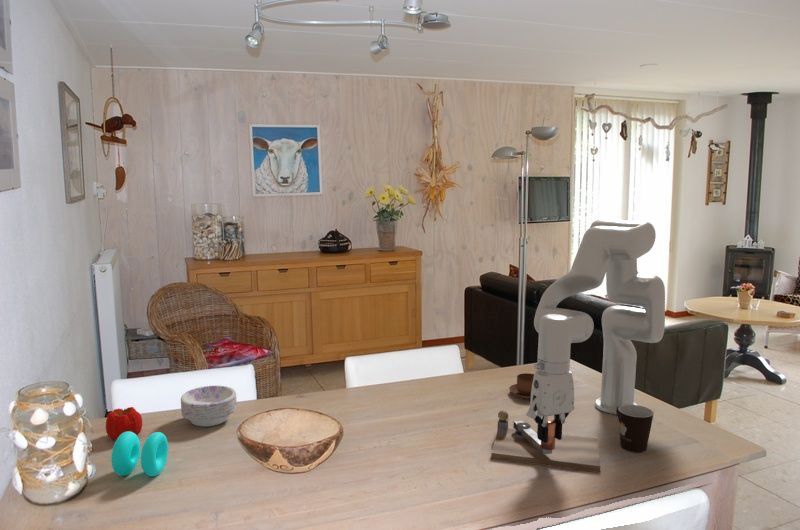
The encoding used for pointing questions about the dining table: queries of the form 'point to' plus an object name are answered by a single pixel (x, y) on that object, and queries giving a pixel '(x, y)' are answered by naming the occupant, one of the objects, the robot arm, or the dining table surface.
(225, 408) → the paper bowls
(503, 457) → the wooden lever base
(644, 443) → the coffee mug
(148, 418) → the dining table surface
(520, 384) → the cup and saucer
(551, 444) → the lever
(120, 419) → the tomato
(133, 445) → the donuts
